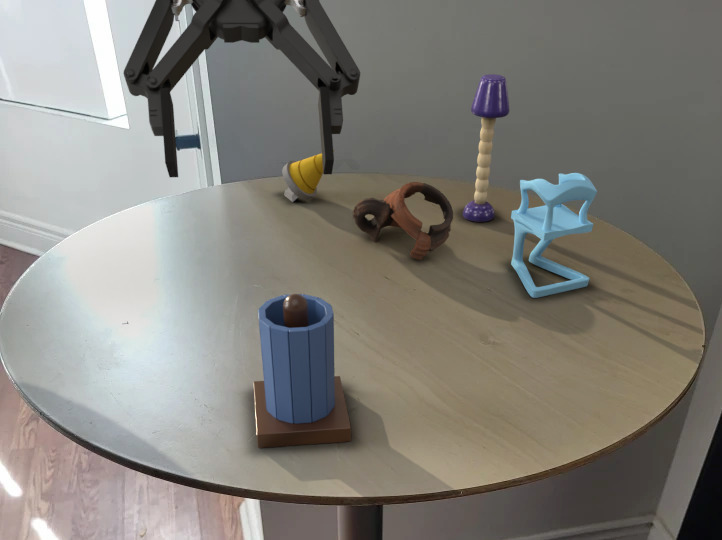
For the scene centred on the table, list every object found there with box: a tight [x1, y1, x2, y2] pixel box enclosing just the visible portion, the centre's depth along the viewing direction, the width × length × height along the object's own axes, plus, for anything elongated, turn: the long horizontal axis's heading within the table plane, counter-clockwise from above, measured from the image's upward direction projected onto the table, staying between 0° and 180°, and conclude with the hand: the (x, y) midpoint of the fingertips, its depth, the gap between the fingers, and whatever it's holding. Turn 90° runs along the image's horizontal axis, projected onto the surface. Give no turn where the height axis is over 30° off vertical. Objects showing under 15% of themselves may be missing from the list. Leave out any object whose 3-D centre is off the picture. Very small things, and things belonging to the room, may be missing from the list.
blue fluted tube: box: [257, 293, 335, 424], centre depth 66 cm, size 6×6×9 cm
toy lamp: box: [462, 73, 510, 223], centre depth 98 cm, size 5×5×17 cm
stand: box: [252, 293, 352, 449], centre depth 66 cm, size 8×8×12 cm
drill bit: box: [281, 149, 335, 203], centre depth 104 cm, size 5×5×10 cm
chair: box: [510, 172, 598, 299], centre depth 87 cm, size 8×8×12 cm
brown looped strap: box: [352, 181, 454, 261], centre depth 94 cm, size 12×10×8 cm
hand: (251, 169), depth 68 cm, fingers open, 13 cm apart
